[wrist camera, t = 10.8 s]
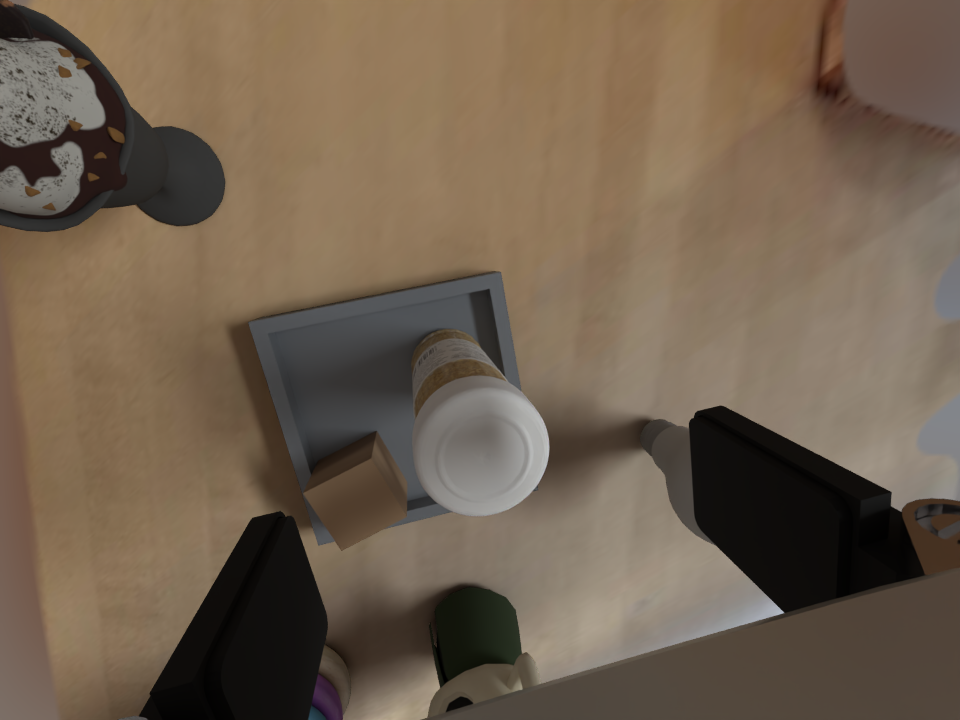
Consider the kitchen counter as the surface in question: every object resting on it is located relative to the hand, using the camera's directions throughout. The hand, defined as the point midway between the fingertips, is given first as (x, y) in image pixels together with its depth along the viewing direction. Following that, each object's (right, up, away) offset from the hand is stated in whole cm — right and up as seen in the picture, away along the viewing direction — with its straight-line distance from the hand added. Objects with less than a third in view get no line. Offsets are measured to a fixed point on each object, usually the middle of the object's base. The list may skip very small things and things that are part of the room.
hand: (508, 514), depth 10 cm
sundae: (-17, +13, +14) cm, 25 cm away
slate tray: (-5, +1, +18) cm, 19 cm away
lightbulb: (+11, -2, +21) cm, 24 cm away
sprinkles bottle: (-3, +3, +17) cm, 18 cm away
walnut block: (-8, -3, +18) cm, 20 cm away
